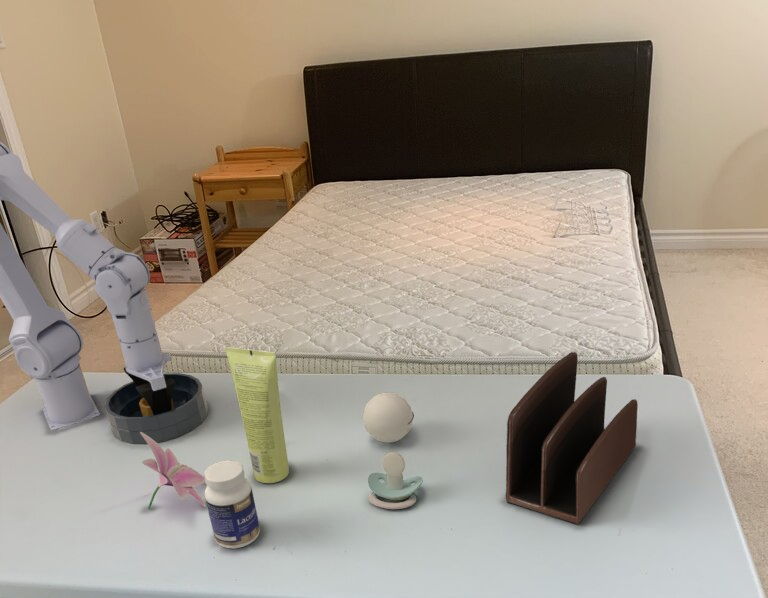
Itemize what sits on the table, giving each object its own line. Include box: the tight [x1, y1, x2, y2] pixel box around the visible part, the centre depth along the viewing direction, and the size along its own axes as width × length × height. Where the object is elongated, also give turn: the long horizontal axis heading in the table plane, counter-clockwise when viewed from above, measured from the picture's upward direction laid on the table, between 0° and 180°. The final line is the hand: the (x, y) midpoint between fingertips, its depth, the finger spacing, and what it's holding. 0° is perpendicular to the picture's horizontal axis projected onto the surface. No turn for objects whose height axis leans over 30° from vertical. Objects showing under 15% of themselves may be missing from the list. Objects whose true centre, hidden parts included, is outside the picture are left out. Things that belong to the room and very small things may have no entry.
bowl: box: [104, 372, 209, 445], centre depth 123 cm, size 15×15×5 cm
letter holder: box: [505, 351, 638, 525], centre depth 97 cm, size 10×20×14 cm, turn 145°
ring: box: [139, 398, 175, 417], centre depth 123 cm, size 5×5×4 cm
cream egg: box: [362, 392, 415, 444], centre depth 112 cm, size 10×7×7 cm
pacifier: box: [367, 451, 424, 510], centre depth 98 cm, size 7×6×6 cm
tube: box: [224, 346, 290, 484], centre depth 103 cm, size 6×5×20 cm
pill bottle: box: [203, 460, 261, 549], centre depth 94 cm, size 6×6×10 cm
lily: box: [140, 432, 207, 510], centre depth 102 cm, size 12×12×10 cm
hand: (158, 412), depth 123 cm, fingers open, 6 cm apart
